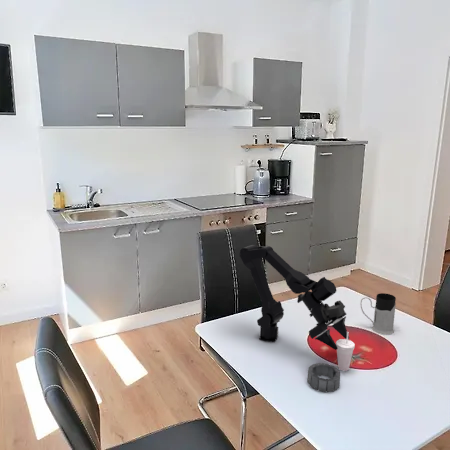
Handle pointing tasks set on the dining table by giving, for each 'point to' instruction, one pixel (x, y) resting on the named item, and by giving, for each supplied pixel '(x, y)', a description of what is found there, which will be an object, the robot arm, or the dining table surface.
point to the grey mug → (383, 313)
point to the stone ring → (323, 383)
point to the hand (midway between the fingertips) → (342, 344)
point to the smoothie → (344, 353)
